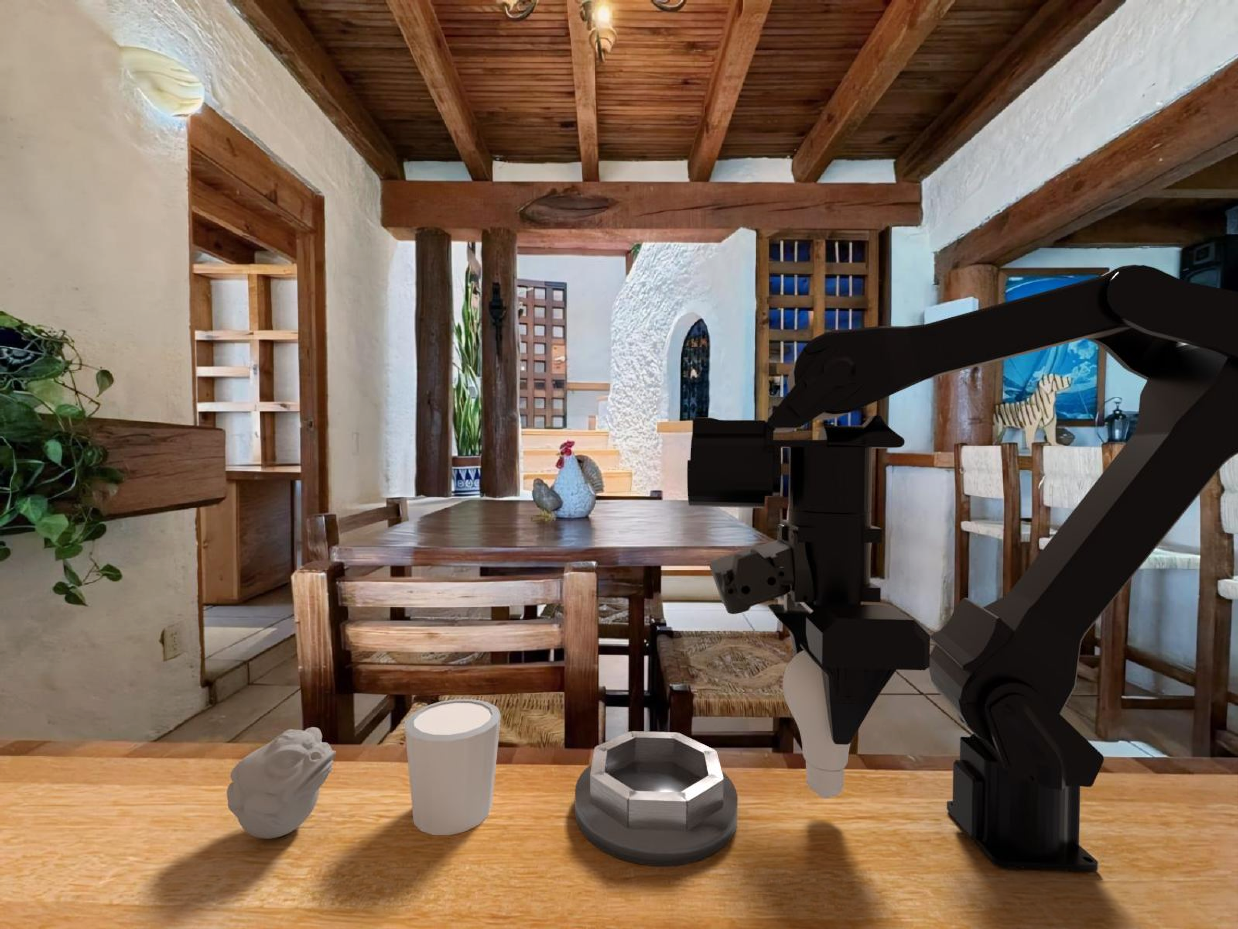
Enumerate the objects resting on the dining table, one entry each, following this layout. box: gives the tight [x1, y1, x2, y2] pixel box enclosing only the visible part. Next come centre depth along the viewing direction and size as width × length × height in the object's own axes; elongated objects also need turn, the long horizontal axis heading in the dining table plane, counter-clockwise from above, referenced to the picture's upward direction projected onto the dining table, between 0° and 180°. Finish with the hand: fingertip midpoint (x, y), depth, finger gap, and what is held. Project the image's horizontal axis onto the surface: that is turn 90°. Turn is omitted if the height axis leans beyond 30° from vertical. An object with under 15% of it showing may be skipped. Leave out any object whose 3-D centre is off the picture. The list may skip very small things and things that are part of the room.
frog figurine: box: [226, 726, 337, 840], centre depth 40 cm, size 6×7×7 cm
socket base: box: [574, 730, 739, 867], centre depth 43 cm, size 12×12×4 cm
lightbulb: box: [782, 650, 851, 799], centre depth 42 cm, size 6×6×11 cm
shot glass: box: [404, 698, 502, 836], centre depth 42 cm, size 7×7×7 cm
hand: (825, 721), depth 42 cm, fingers closed on lightbulb, 6 cm apart
